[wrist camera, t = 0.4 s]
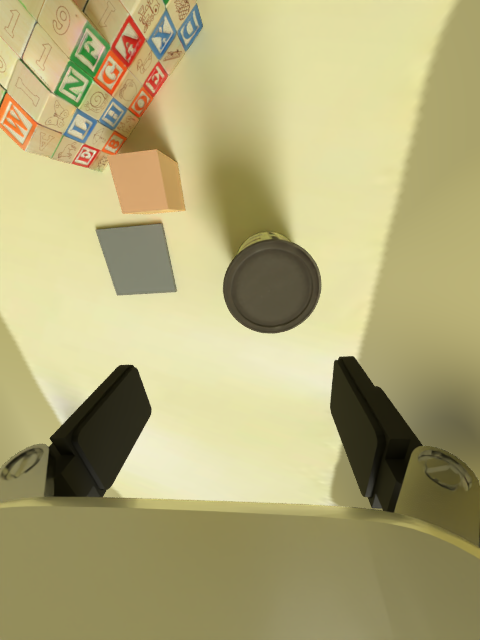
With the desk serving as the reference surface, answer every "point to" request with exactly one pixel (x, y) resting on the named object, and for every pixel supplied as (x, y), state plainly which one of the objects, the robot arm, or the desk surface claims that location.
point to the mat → (138, 259)
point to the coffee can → (271, 284)
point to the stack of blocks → (86, 71)
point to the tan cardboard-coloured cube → (147, 182)
